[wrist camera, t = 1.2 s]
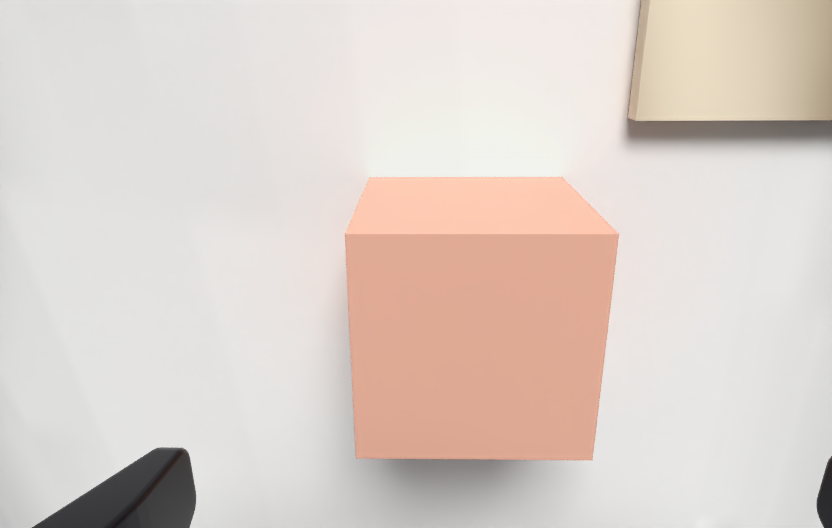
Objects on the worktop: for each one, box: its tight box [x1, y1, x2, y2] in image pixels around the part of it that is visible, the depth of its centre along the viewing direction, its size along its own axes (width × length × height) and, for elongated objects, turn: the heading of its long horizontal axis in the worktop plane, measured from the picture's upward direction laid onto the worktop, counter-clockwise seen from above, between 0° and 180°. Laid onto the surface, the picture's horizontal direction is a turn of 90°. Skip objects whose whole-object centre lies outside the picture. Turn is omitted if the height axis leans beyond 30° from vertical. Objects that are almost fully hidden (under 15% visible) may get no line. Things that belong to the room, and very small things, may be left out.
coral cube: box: [345, 177, 619, 460], centre depth 14 cm, size 5×5×5 cm
